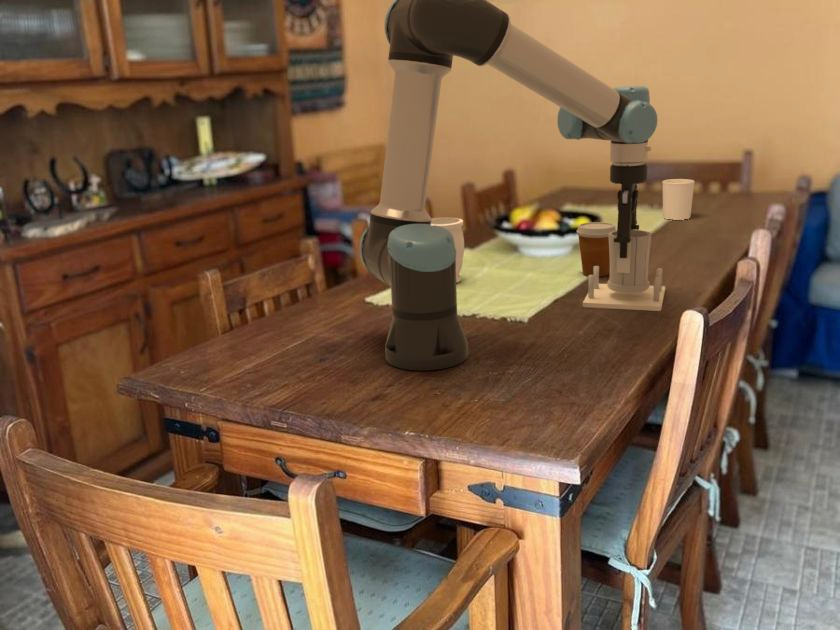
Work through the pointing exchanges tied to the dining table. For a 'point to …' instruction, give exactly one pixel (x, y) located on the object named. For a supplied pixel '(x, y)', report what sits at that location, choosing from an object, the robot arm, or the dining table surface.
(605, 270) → the disposable coffee cup
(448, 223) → the jar
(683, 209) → the candle holder
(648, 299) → the beige flat pegged board
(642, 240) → the cup
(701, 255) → the dining table surface
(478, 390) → the dining table surface
